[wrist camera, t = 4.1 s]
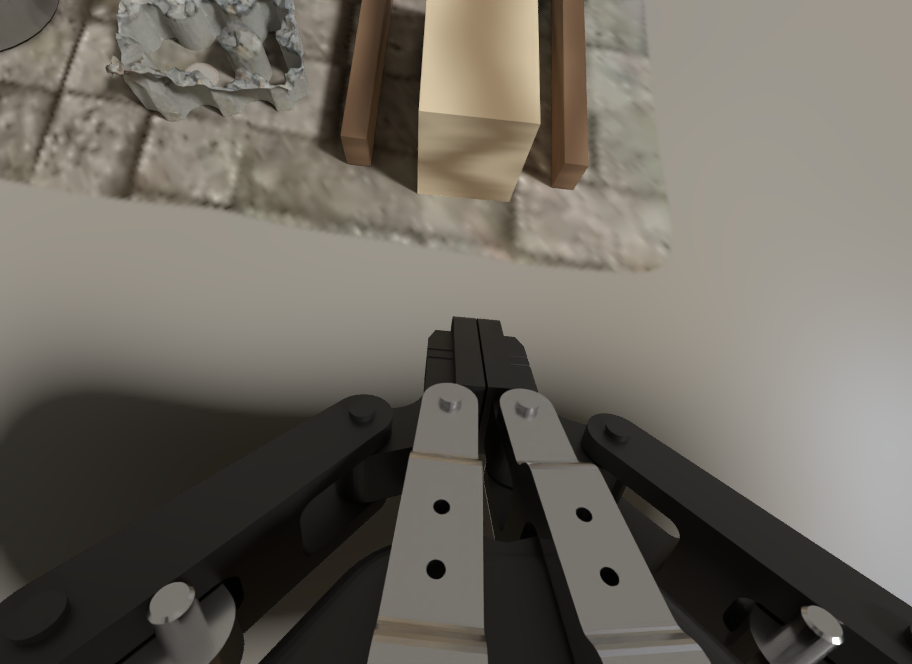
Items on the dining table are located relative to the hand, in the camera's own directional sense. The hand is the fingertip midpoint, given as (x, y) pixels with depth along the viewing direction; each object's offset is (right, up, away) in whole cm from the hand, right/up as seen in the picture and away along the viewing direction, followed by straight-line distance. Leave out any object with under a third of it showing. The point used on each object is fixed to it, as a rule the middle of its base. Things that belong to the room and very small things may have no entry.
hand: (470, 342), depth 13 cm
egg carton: (-16, +17, +14) cm, 27 cm away
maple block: (0, +15, +15) cm, 21 cm away
